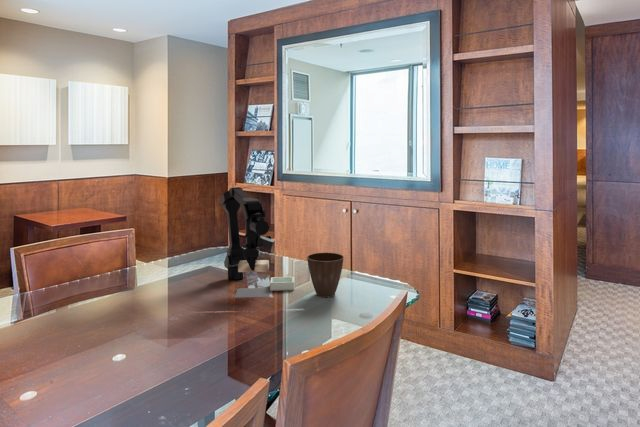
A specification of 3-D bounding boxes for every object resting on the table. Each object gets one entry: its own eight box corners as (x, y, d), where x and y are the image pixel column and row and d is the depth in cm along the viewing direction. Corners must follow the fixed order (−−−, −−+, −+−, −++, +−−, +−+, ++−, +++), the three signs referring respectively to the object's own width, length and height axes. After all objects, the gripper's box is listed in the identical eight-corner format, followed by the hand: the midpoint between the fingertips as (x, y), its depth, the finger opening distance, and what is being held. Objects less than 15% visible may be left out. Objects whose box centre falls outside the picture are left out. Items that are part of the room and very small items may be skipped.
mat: (234, 299, 191) (234, 297, 191) (238, 289, 203) (237, 288, 203) (269, 298, 192) (269, 296, 192) (270, 289, 204) (270, 287, 204)
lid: (238, 272, 192) (237, 262, 192) (240, 267, 199) (240, 258, 199) (267, 271, 193) (267, 262, 192) (269, 266, 200) (268, 258, 199)
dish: (270, 291, 200) (270, 282, 199) (271, 286, 208) (271, 277, 207) (294, 291, 200) (294, 282, 200) (294, 285, 208) (294, 276, 207)
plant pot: (309, 288, 204) (309, 252, 201) (344, 289, 202) (344, 252, 200) (305, 300, 189) (304, 260, 187) (342, 300, 188) (342, 261, 185)
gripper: (271, 235, 185) (272, 274, 187) (273, 226, 203) (274, 262, 206) (242, 235, 184) (243, 274, 187) (247, 226, 203) (248, 262, 205)
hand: (253, 268), depth 196 cm, fingers closed on lid, 7 cm apart
